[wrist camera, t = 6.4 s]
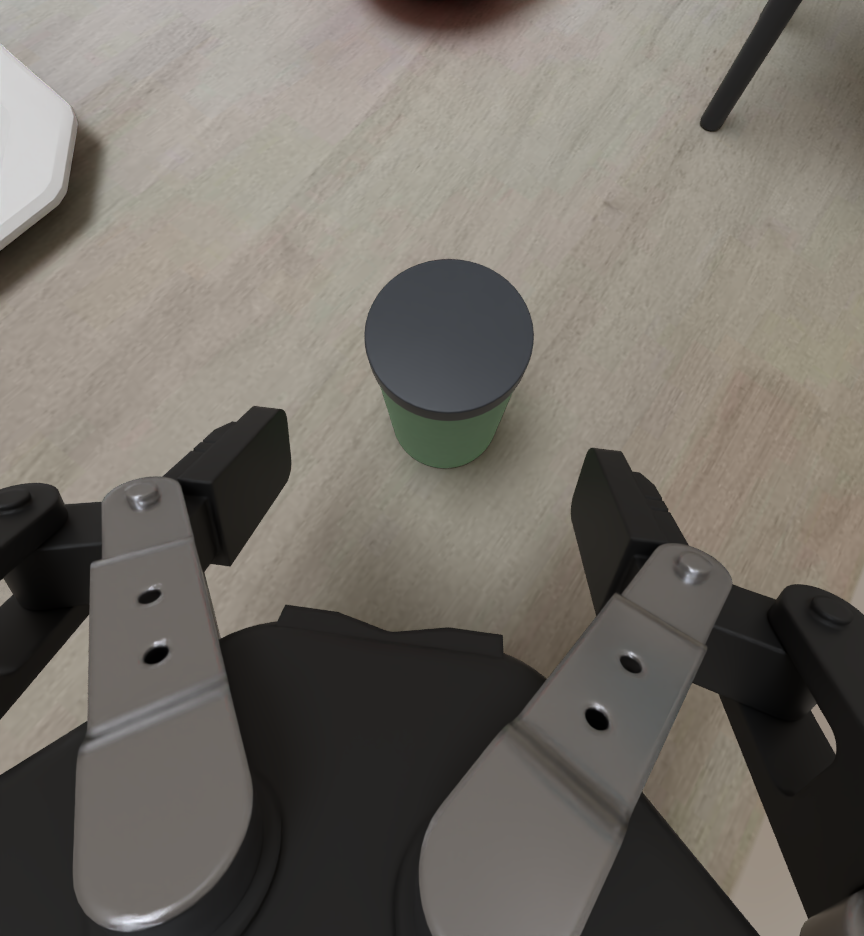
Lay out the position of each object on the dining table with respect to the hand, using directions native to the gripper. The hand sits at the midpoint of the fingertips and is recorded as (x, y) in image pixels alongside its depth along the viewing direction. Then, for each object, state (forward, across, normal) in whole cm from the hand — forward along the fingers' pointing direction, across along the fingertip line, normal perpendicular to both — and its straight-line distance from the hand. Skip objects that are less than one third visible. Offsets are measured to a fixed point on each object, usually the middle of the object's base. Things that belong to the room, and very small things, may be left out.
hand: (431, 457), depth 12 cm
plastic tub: (+9, 0, +3) cm, 10 cm away
